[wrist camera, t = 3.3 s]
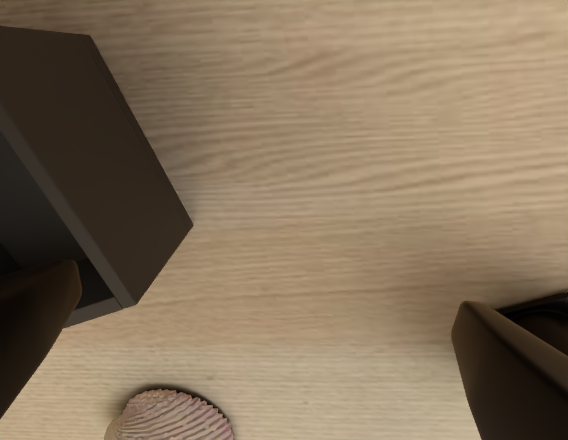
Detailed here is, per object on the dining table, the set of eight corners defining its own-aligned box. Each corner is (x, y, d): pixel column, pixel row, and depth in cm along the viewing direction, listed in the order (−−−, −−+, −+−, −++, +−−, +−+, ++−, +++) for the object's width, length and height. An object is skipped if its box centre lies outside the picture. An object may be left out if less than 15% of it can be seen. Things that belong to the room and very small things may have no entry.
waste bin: (90, 34, 19) (-56, 18, 11) (194, 225, 22) (136, 305, 15) (-82, 126, 21) (-290, 161, 14) (38, 282, 25) (-74, 373, 18)
